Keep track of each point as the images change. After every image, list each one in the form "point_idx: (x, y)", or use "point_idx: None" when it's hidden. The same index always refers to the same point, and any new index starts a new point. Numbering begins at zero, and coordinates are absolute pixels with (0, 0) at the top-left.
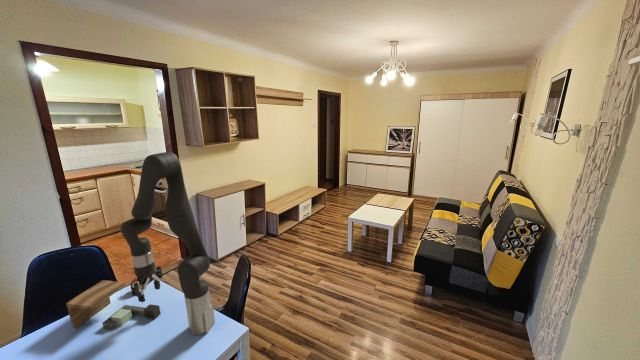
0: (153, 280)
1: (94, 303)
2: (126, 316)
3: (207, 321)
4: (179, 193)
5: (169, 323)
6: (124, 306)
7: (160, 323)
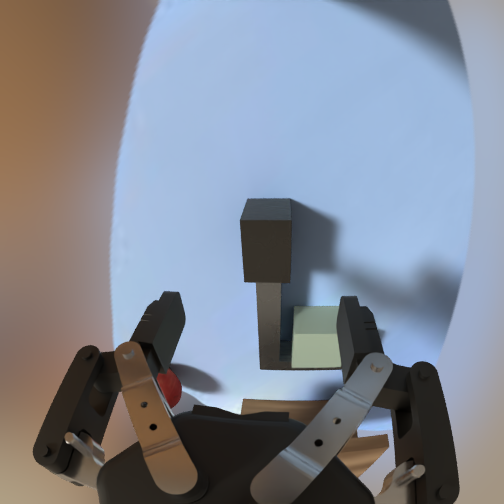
0: (160, 387)
1: (370, 450)
2: (321, 324)
3: None
4: None
5: (301, 97)
6: (269, 366)
7: (311, 147)
